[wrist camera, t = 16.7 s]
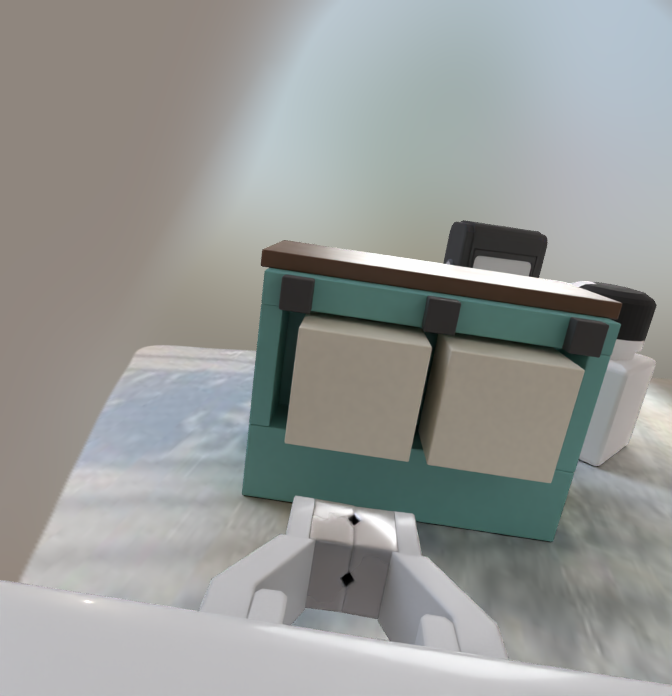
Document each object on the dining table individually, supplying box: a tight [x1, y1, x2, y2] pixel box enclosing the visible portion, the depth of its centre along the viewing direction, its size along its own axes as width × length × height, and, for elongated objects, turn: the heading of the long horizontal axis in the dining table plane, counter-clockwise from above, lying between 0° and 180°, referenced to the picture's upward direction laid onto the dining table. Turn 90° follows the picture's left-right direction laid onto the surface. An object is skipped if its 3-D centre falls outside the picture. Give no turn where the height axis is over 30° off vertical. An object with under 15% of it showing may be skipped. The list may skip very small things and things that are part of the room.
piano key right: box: [418, 333, 585, 483], centre depth 23 cm, size 4×6×5 cm, turn 87°
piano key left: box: [285, 311, 432, 462], centre depth 23 cm, size 4×6×5 cm, turn 88°
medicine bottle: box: [571, 281, 656, 466], centre depth 37 cm, size 7×7×12 cm
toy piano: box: [242, 240, 622, 542], centre depth 27 cm, size 10×17×12 cm, turn 88°
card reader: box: [443, 221, 547, 278], centre depth 49 cm, size 9×4×15 cm, turn 104°
